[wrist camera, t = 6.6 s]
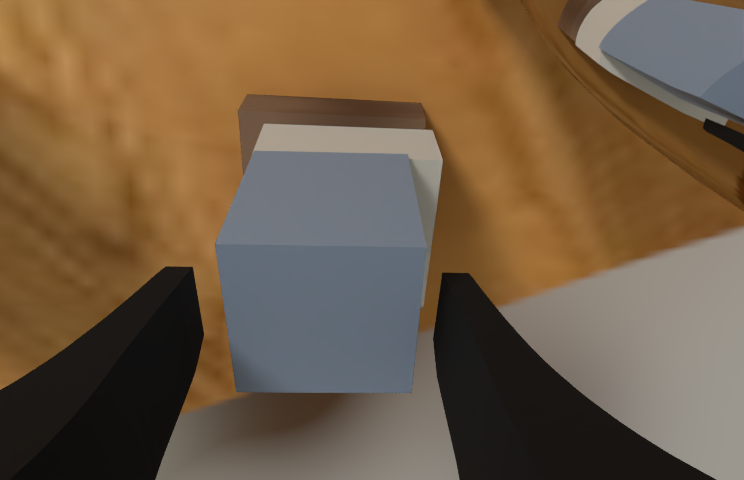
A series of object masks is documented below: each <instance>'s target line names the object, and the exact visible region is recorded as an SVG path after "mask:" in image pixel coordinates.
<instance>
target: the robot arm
mask: <svg viewBox="0 0 744 480" xmlns="http://www.w3.org/2000/svg"><path fill="white" fill-rule="evenodd" d="M203 336H204V332H203V326H202V320H201V314H200V308H199V302H198V296H197V290H196V284H195V278H194V272H193V267H165V268H163V269H162V270H161V271H160V272H158V273H157V274H156V275H155V276H154V277H153V278H151V279H150V280H149V281H148V282H147V283H146V284H145V285H143V286H142V287H141V288H140V289H139V290H138V291H137V292H135V293H134V294H133V295H132V296H131V297H130V298H128V299H127V300H126V301H125V302H124V303H122V304H121V305H120V306H119V307H118V308H116V309H115V310H114V311H113V312H112V313H111V314H109V315H108V316H107V317H106V318H105V319H103V320H102V321H101V322H99V323H98V324H97V325H96V326H94V327H93V328H92V329H90V330H89V331H88V332H86V333H85V334H84V335H82V336H81V337H80V338H78V339H77V340H76V341H74V342H73V343H72V344H71V345H69V346H68V347H67V348H65V349H64V350H62V351H61V352H60V353H58V354H57V355H55V356H54V357H52V358H51V359H49V360H48V361H47V362H45V363H44V364H42V365H40V366H39V367H37V368H36V369H34V370H33V371H31V372H29V373H28V374H26V375H25V376H23V377H22V378H20V379H18V380H17V381H15V382H13V383H12V384H10V385H8V386H7V387H5V388H3V389H1V390H0V480H155V479H156V476H157V473H158V470H159V467H160V464H161V460H162V458H163V456H164V453H165V450H166V448H167V445H168V443H169V440H170V437H171V435H172V432H173V430H174V427H175V424H176V422H177V419H178V417H179V414H180V411H181V409H182V406H183V404H184V401H185V398H186V396H187V393H188V390H189V388H190V385H191V382H192V380H193V377H194V374H195V371H196V367H197V363H198V359H199V354H200V350H201V345H202V341H203ZM433 341H434V351H435V361H436V371H437V378H438V383H439V388H440V392H441V397H442V400H443V406H444V410H445V414H446V418H447V423H448V427H449V431H450V436H451V440H452V444H453V449H454V453H455V458H456V462H457V468H458V473H459V478H460V480H716V479H714V478H712V477H710V476H709V475H707V474H705V473H703V472H701V471H699V470H698V469H696V468H694V467H692V466H690V465H688V464H687V463H685V462H683V461H681V460H680V459H678V458H676V457H674V456H672V455H671V454H669V453H667V452H666V451H664V450H663V449H661V448H659V447H658V446H656V445H655V444H653V443H651V442H650V441H648V440H647V439H645V438H643V437H642V436H640V435H638V434H637V433H636V432H634V431H633V430H631V429H630V428H628V427H627V426H625V425H624V424H622V423H621V422H619V421H618V420H617V419H615V418H614V417H612V416H611V415H610V414H608V413H607V412H606V411H604V410H603V409H602V408H600V407H599V406H597V405H596V404H595V403H593V402H592V401H591V400H589V399H588V398H587V397H585V396H584V395H583V394H582V393H581V392H579V391H578V390H577V389H576V388H574V387H573V386H572V385H571V384H570V383H569V382H567V381H566V380H565V379H564V378H563V377H562V376H560V375H559V374H558V373H557V372H556V371H555V370H554V369H553V368H552V367H550V366H549V365H548V364H547V363H546V362H545V361H544V360H543V359H542V358H541V357H540V356H539V355H538V354H537V353H536V352H535V351H534V350H533V349H532V348H531V347H530V346H529V345H528V344H527V343H526V341H525V340H524V339H523V338H522V337H521V336H520V335H519V334H518V333H517V332H516V330H515V329H514V328H513V327H512V326H511V325H510V324H509V323H508V321H507V320H506V319H505V318H504V317H503V315H502V314H501V313H500V312H499V311H498V309H497V308H496V307H495V306H494V304H493V303H492V302H491V301H490V300H489V298H488V297H487V296H486V294H485V293H484V292H483V291H482V289H481V288H480V287H479V285H478V284H477V283H476V282H475V280H474V279H473V278H472V277H471V275H470V274H469V273H442V280H441V287H440V294H439V301H438V308H437V315H436V322H435V330H434V338H433Z"/></svg>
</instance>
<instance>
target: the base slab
mask: <svg viewBox="0 0 744 480" xmlns="http://www.w3.org/2000/svg"><path fill="white" fill-rule="evenodd" d="M238 115H239V128H240V141H241V154H242V167H243V176H244V173H245V171H246V168H247V166H248V164H249V161H250V159H251V156H252V153H253V150H254V148H255V145H256V142H257V140H258V137H259V135H260V132H261V130H262V127H263V125H264V124H288V125H315V126H341V127H367V128H393V129H419V130H425V125H426V117H425V114H424V111H423V108H422V105H421V103H412V102H392V101H372V100H352V99H332V98H312V97H292V96H272V95H252V94H247V96H246V97H245V99H244V101H243V103H242V105H241V106H240V108H239V110H238Z"/></svg>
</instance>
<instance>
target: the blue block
mask: <svg viewBox="0 0 744 480" xmlns="http://www.w3.org/2000/svg"><path fill="white" fill-rule="evenodd" d="M215 247H216V254H217V261H218V268H219V275H220V282H221V289H222V296H223V303H224V310H225V317H226V324H227V330H228V337H229V344H230V351H231V358H232V365H233V372H234V379H235V386H236V392H288V393H289V392H290V393H291V392H292V393H299V392H300V393H412V384H413V374H414V365H415V355H416V345H417V336H418V327H419V317H420V308H421V298H422V288H423V279H424V269H425V260H426V250H427V246H426V241H425V236H424V231H423V226H422V221H421V216H420V212H419V207H418V202H417V197H416V192H415V187H414V182H413V177H412V172H411V167H410V163H409V158H408V154H386V153H339V152H293V151H253V154H252V156H251V159H250V161H249V164H248V166H247V168H246V171H245V173H244V176H243V178H242V180H241V183H240V185H239V188H238V190H237V192H236V195H235V197H234V200H233V202H232V204H231V207H230V209H229V212H228V214H227V216H226V219H225V221H224V224H223V226H222V228H221V231H220V233H219V236H218V238H217V241H216V243H215Z"/></svg>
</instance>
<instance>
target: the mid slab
mask: <svg viewBox="0 0 744 480" xmlns="http://www.w3.org/2000/svg"><path fill="white" fill-rule="evenodd" d="M253 151H293V152H339V153H386V154H408V158H409V163H410V167H411V172H412V177H413V182H414V187H415V192H416V197H417V202H418V207H419V212H420V216H421V221H422V226H423V231H424V236H425V241H426V246H427V250H426V260H425V269H424V279H423V288H422V298H421V307H424V300H425V292H426V285H427V277H428V270H429V262H430V255H431V247H432V239H433V232H434V224H435V217H436V209H437V202H438V194H439V187H440V179H441V171H442V164H443V159H442V156H441V153H440V150H439V147H438V144H437V141H436V139H435V136H434V133H433V130H419V129H393V128H367V127H341V126H315V125H288V124H264V125H263V127H262V130H261V132H260V135H259V137H258V140H257V142H256V145H255V148H254V150H253ZM252 154H253V153H252Z"/></svg>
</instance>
